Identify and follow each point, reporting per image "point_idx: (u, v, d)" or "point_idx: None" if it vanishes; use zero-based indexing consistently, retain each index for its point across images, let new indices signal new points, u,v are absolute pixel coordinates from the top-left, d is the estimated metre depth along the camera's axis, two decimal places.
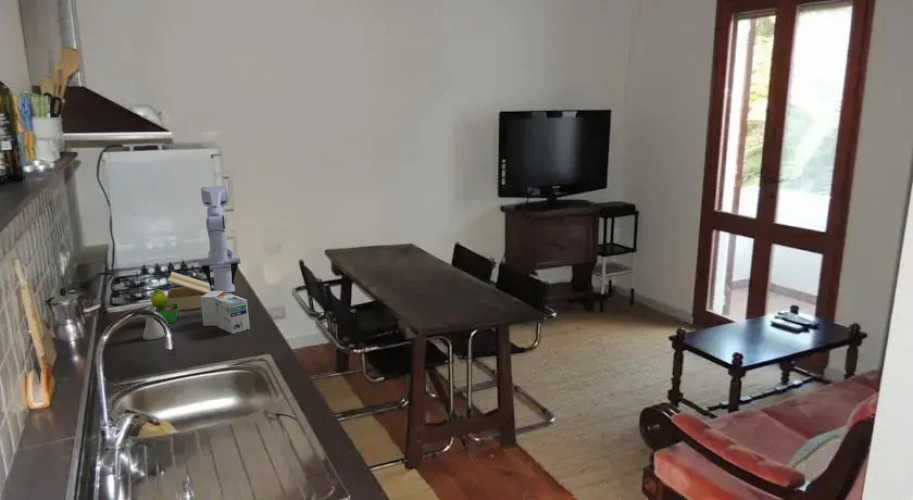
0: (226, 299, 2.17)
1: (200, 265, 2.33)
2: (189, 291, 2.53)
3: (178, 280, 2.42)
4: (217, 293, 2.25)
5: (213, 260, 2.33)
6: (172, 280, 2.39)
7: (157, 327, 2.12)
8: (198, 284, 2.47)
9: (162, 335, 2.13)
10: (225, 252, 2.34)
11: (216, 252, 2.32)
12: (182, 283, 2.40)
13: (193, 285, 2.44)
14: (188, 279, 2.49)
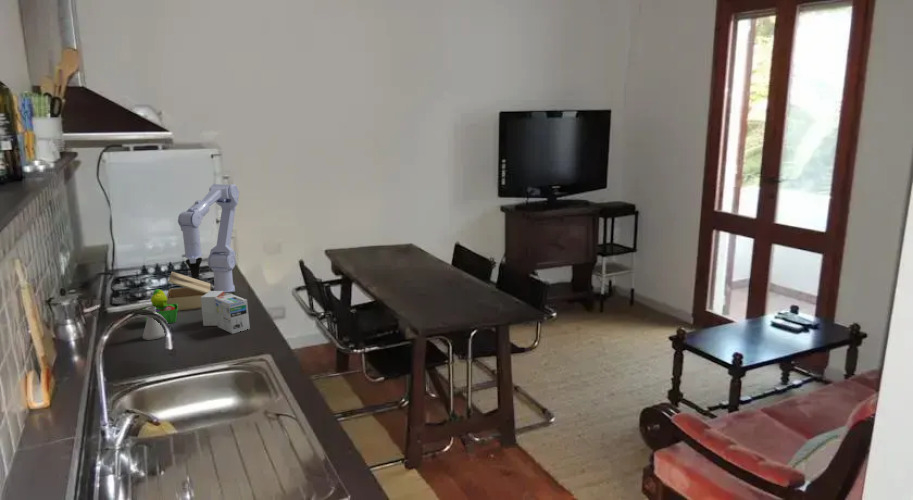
0: (226, 299, 2.17)
1: None
2: (189, 291, 2.53)
3: (178, 280, 2.42)
4: (217, 293, 2.25)
5: None
6: (172, 280, 2.39)
7: (157, 327, 2.12)
8: (198, 284, 2.47)
9: (162, 335, 2.13)
10: (187, 247, 2.41)
11: None
12: (182, 283, 2.40)
13: (193, 285, 2.44)
14: (188, 279, 2.49)
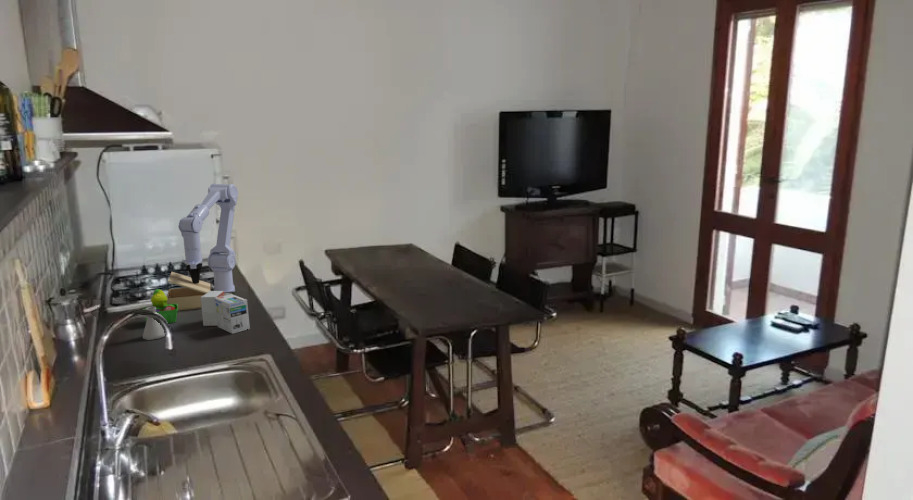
0: (226, 299, 2.17)
1: None
2: (189, 291, 2.53)
3: (178, 280, 2.42)
4: (217, 293, 2.25)
5: None
6: (172, 280, 2.39)
7: (157, 327, 2.12)
8: (198, 284, 2.47)
9: (162, 335, 2.13)
10: (188, 253, 2.42)
11: None
12: (182, 283, 2.40)
13: (193, 285, 2.44)
14: (188, 279, 2.49)
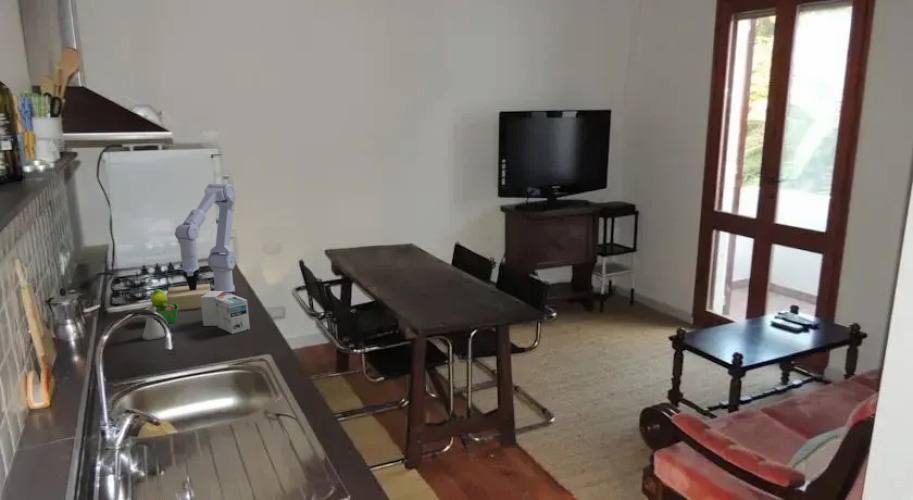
0: (226, 299, 2.17)
1: None
2: None
3: (176, 293, 2.43)
4: (217, 293, 2.25)
5: None
6: (169, 296, 2.40)
7: (157, 327, 2.12)
8: (196, 289, 2.48)
9: (162, 335, 2.13)
10: (185, 260, 2.42)
11: None
12: (180, 294, 2.41)
13: (191, 292, 2.44)
14: (186, 288, 2.49)
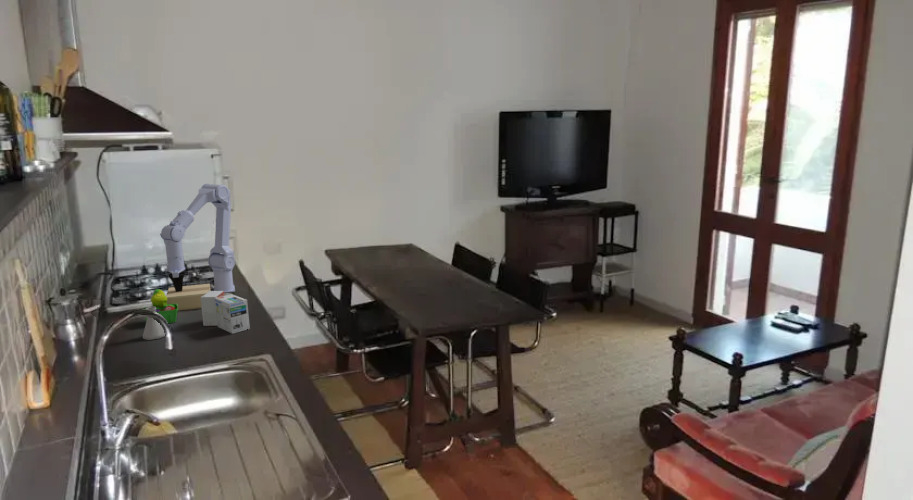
0: (226, 299, 2.17)
1: None
2: None
3: (176, 293, 2.43)
4: (217, 293, 2.25)
5: None
6: (169, 296, 2.40)
7: (157, 327, 2.12)
8: (196, 289, 2.48)
9: (162, 335, 2.13)
10: (170, 261, 2.40)
11: None
12: (180, 294, 2.41)
13: (191, 292, 2.44)
14: (186, 288, 2.49)
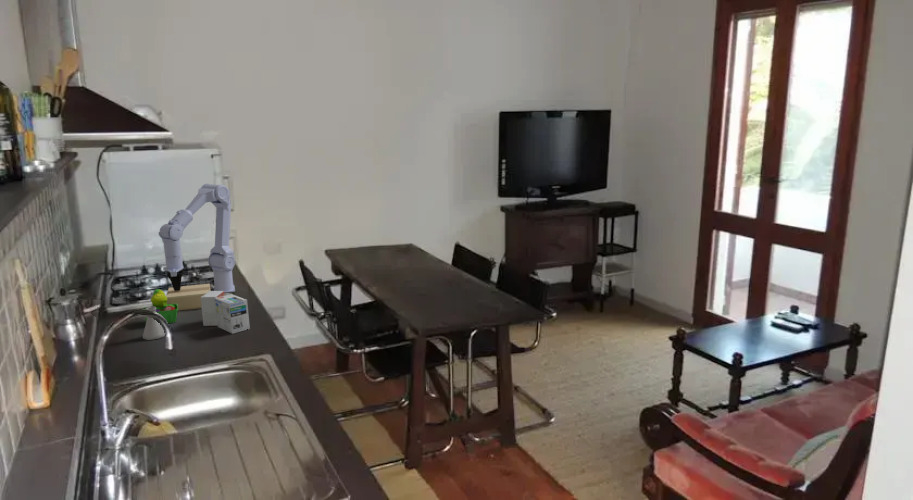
0: (226, 299, 2.17)
1: None
2: None
3: (176, 293, 2.43)
4: (217, 293, 2.25)
5: None
6: (169, 295, 2.40)
7: (157, 327, 2.12)
8: (196, 289, 2.48)
9: (162, 335, 2.13)
10: (168, 260, 2.40)
11: None
12: (180, 294, 2.41)
13: (191, 292, 2.44)
14: (186, 288, 2.49)
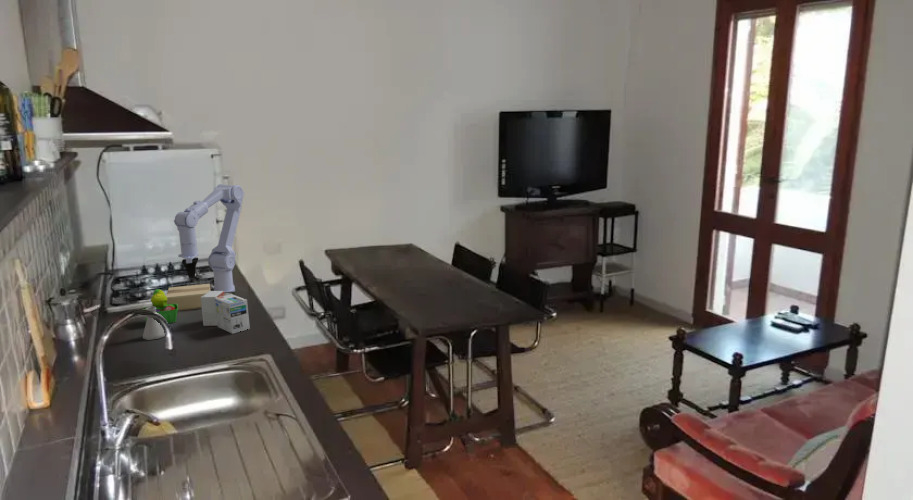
0: (226, 299, 2.17)
1: None
2: None
3: (175, 293, 2.43)
4: (217, 293, 2.25)
5: None
6: (169, 295, 2.40)
7: (157, 327, 2.12)
8: (196, 289, 2.48)
9: (162, 335, 2.13)
10: (184, 247, 2.44)
11: None
12: (180, 294, 2.41)
13: (191, 292, 2.44)
14: (186, 288, 2.49)
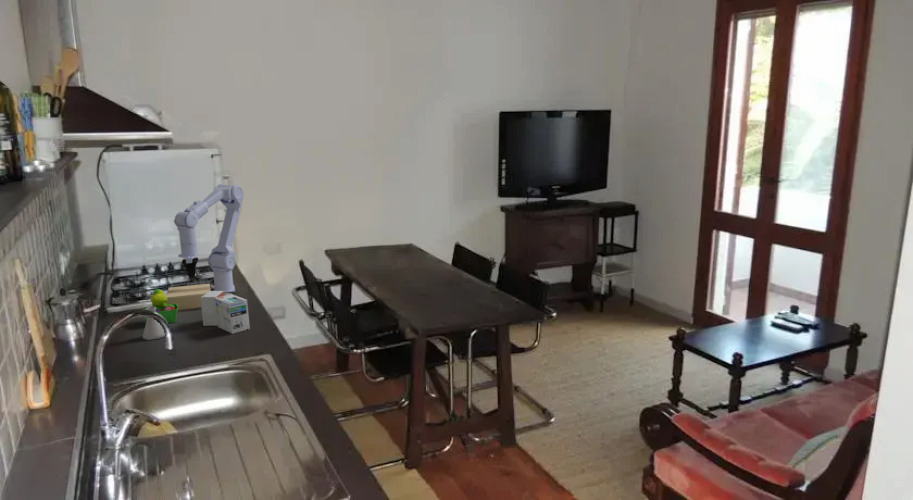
0: (226, 299, 2.17)
1: None
2: None
3: (175, 293, 2.43)
4: (217, 293, 2.25)
5: None
6: (169, 295, 2.40)
7: (157, 327, 2.12)
8: (196, 289, 2.48)
9: (162, 335, 2.13)
10: (184, 247, 2.44)
11: None
12: (180, 294, 2.41)
13: (191, 292, 2.44)
14: (186, 288, 2.49)
